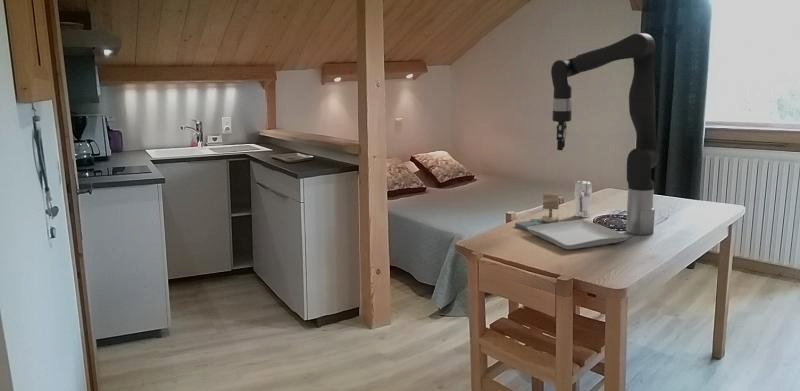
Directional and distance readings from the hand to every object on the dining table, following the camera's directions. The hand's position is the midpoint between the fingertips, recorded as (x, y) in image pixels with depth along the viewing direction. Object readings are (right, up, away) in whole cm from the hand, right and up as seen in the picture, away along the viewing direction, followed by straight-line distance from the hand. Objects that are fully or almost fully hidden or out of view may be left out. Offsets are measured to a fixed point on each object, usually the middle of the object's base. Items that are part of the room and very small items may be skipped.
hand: (561, 148), depth 261 cm
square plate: (-1, -36, -24) cm, 44 cm away
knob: (-8, -30, -3) cm, 31 cm away
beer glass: (+12, -28, +11) cm, 33 cm away
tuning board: (-9, -32, -5) cm, 34 cm away
